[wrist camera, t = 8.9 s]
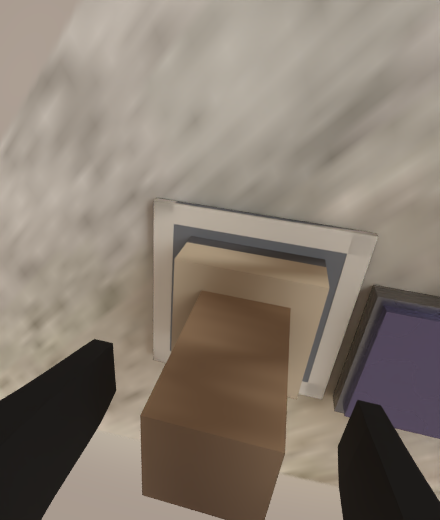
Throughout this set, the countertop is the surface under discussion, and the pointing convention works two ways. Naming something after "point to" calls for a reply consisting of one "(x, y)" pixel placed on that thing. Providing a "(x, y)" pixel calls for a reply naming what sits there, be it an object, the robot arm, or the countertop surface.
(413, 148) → the countertop surface
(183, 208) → the print mark
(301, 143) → the countertop surface
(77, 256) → the countertop surface
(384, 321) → the ink pad
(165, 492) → the stamp
